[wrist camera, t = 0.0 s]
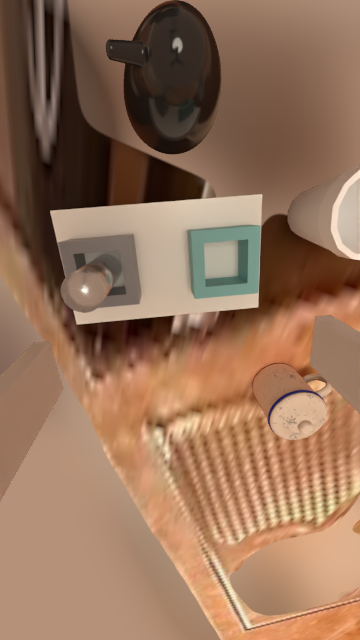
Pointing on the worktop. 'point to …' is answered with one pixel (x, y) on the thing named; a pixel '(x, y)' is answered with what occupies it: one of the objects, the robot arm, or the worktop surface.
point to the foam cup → (330, 214)
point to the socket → (246, 261)
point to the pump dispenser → (170, 77)
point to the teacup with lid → (290, 401)
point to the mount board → (155, 253)
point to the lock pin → (91, 283)
